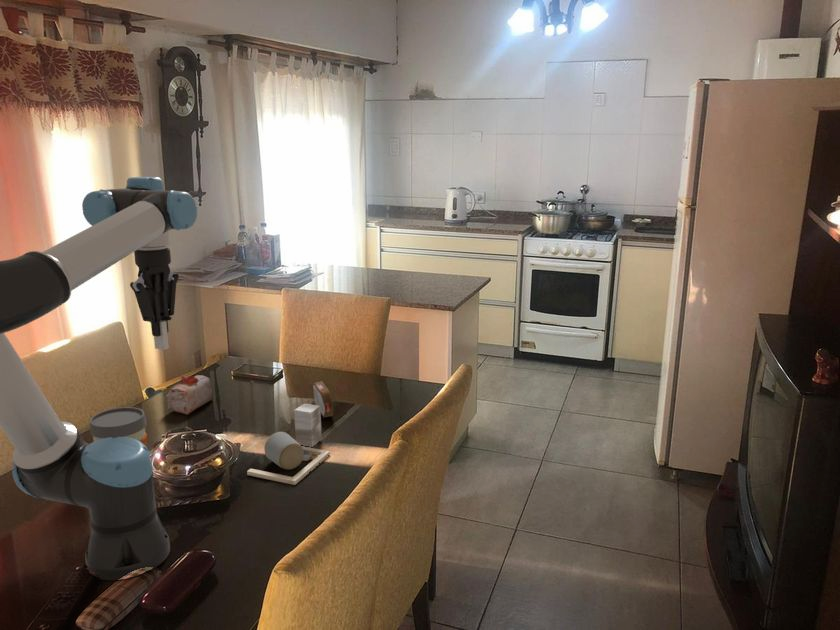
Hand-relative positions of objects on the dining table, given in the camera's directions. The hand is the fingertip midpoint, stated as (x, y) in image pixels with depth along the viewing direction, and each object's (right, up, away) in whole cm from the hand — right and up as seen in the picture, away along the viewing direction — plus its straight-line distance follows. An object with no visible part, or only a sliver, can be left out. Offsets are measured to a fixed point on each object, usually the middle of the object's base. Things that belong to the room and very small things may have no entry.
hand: (162, 348), depth 156 cm
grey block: (+30, -27, +26) cm, 48 cm away
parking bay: (+27, -30, +13) cm, 43 cm away
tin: (+31, -22, +46) cm, 60 cm away
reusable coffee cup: (-13, -31, +9) cm, 35 cm away
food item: (-10, -21, +50) cm, 55 cm away
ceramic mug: (+27, -30, +14) cm, 43 cm away
